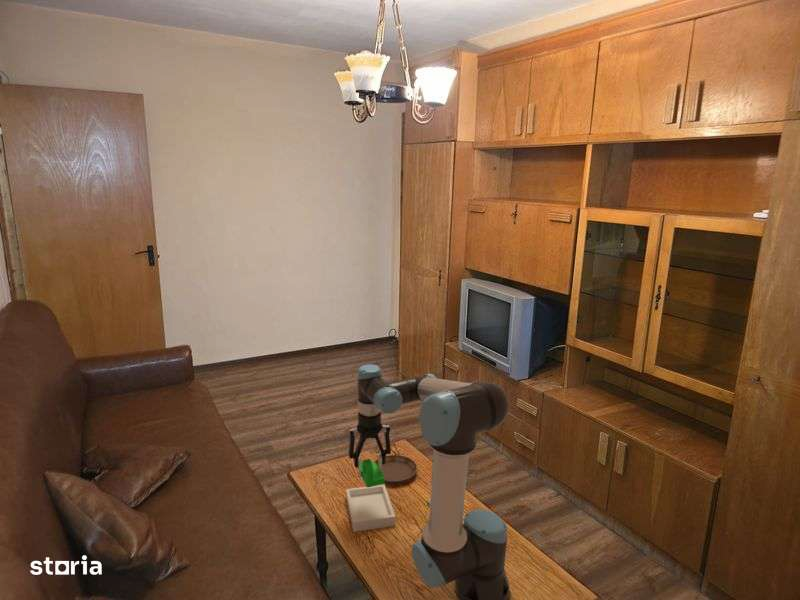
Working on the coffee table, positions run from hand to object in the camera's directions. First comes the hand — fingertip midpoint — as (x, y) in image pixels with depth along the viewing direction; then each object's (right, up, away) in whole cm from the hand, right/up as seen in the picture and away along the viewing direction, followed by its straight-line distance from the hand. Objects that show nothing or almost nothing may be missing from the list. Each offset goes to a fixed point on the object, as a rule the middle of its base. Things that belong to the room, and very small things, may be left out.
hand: (369, 473), depth 174 cm
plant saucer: (+8, -9, +26) cm, 28 cm away
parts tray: (0, -14, +4) cm, 15 cm away
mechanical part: (0, -1, 0) cm, 1 cm away
